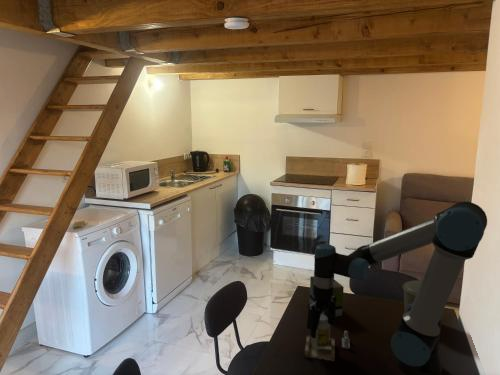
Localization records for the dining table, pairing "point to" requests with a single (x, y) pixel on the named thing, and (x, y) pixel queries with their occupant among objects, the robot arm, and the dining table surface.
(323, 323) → the pill bottle
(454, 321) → the dining table surface
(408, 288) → the canister
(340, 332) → the dining table surface
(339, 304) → the tea box
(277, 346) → the dining table surface
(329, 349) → the square tray
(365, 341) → the dining table surface
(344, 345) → the clip
